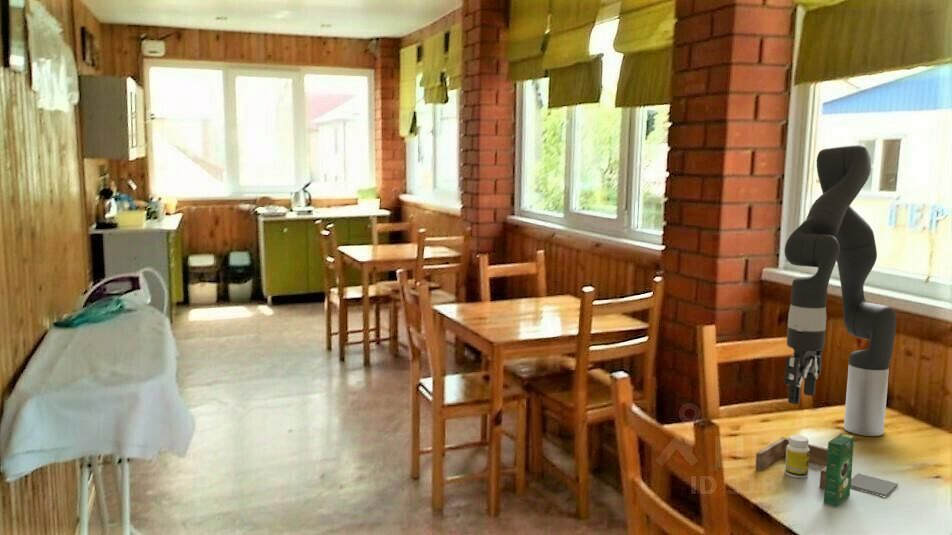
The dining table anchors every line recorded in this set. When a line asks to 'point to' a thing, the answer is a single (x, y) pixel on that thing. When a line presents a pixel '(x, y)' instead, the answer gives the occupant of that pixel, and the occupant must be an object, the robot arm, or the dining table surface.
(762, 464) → the open box
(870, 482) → the grey mat
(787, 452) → the supplement bottle
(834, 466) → the coffee box
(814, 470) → the dining table surface
